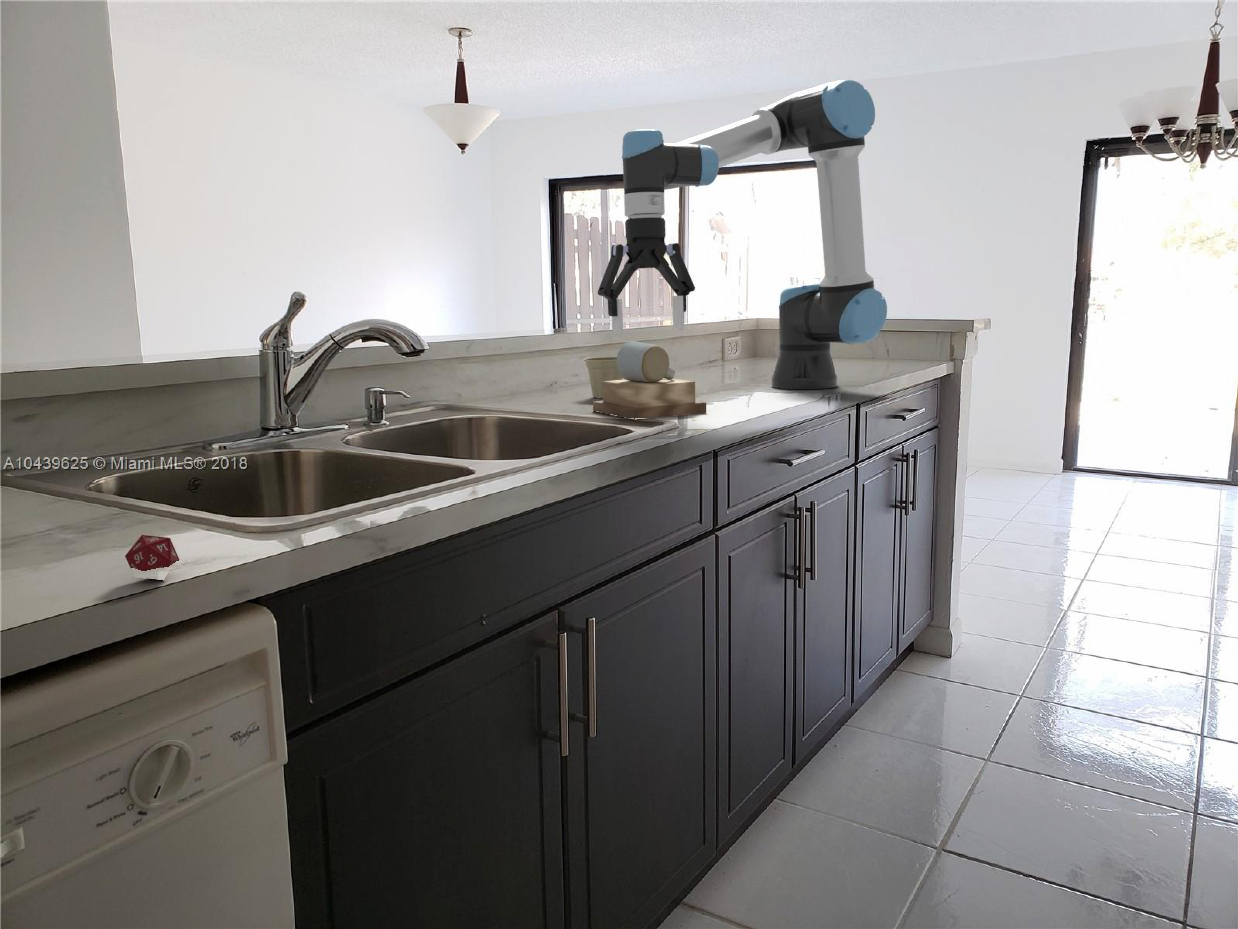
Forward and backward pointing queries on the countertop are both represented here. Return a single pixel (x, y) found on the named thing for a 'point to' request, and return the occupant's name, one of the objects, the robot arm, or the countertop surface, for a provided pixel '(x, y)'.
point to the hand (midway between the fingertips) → (648, 332)
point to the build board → (650, 410)
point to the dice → (151, 553)
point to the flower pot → (601, 373)
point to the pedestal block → (649, 392)
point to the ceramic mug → (643, 362)
